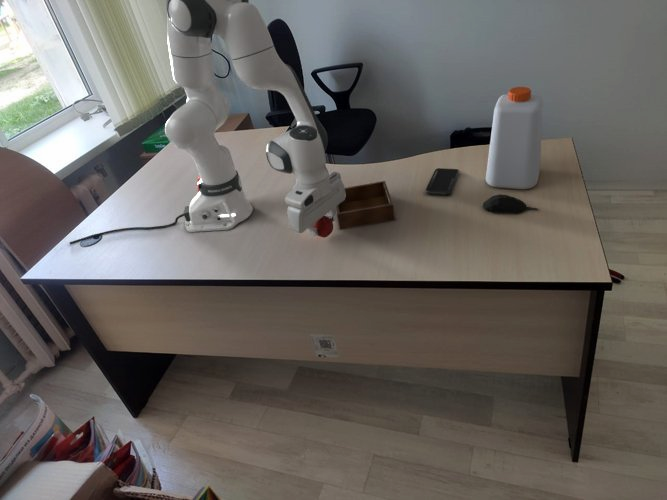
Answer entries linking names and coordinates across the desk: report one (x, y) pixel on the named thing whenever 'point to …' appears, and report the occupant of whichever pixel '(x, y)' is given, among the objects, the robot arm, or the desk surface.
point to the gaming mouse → (505, 204)
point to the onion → (324, 226)
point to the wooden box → (365, 205)
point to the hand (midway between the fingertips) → (322, 227)
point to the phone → (442, 182)
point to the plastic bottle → (515, 140)
